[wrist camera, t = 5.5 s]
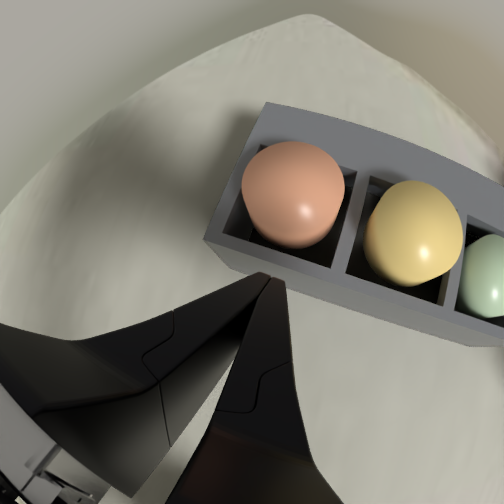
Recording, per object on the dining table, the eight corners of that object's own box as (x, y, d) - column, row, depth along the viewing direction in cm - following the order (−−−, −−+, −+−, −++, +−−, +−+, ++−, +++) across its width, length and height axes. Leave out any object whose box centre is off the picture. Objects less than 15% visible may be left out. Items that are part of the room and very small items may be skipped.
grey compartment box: (469, 346, 19) (523, 346, 12) (229, 268, 24) (202, 239, 16) (487, 235, 21) (533, 205, 14) (273, 158, 26) (266, 101, 19)
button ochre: (430, 298, 15) (455, 290, 12) (352, 271, 16) (365, 258, 13) (443, 219, 16) (465, 200, 13) (372, 192, 17) (385, 167, 14)
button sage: (492, 326, 15) (516, 324, 12) (440, 309, 16) (463, 304, 13) (501, 259, 16) (524, 249, 13) (452, 237, 17) (473, 223, 14)
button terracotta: (322, 261, 16) (329, 245, 13) (236, 233, 17) (225, 213, 14) (345, 183, 17) (353, 156, 14) (266, 160, 18) (261, 132, 15)
